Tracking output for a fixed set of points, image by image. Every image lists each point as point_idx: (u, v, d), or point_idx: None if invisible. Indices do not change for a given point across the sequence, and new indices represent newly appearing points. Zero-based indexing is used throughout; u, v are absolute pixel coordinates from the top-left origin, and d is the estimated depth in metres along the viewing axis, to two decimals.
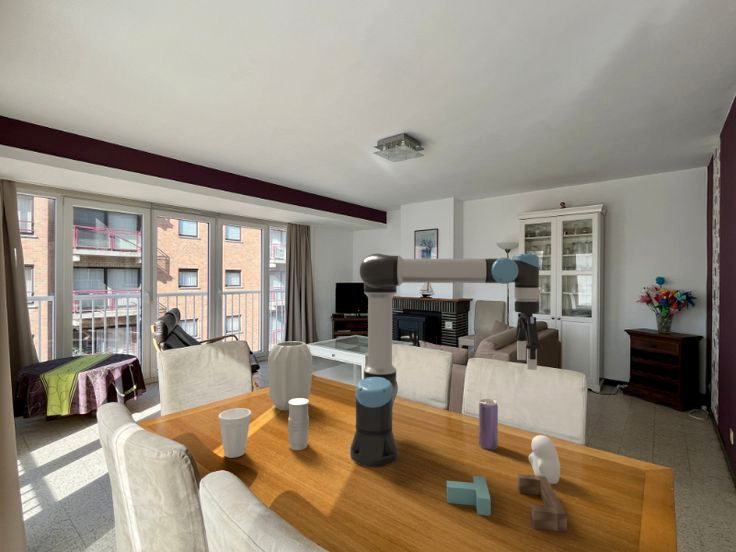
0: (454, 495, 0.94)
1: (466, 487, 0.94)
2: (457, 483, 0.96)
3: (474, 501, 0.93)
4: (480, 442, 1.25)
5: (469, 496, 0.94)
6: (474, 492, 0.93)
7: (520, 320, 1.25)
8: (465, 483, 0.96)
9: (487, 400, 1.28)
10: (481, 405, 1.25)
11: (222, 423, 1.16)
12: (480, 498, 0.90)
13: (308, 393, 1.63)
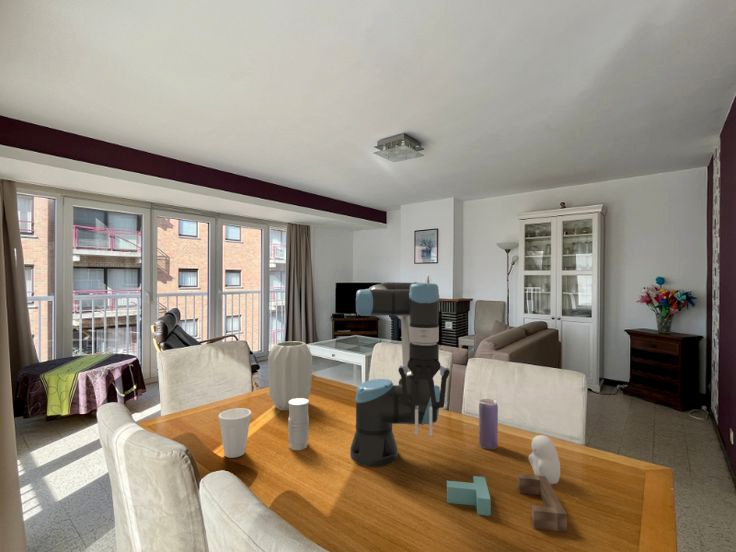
0: (454, 495, 0.94)
1: (466, 487, 0.94)
2: (457, 483, 0.96)
3: (474, 501, 0.93)
4: (480, 442, 1.25)
5: (469, 496, 0.94)
6: (474, 492, 0.93)
7: None
8: (465, 483, 0.96)
9: (487, 400, 1.28)
10: (481, 405, 1.25)
11: (222, 423, 1.16)
12: (480, 498, 0.90)
13: (308, 393, 1.63)
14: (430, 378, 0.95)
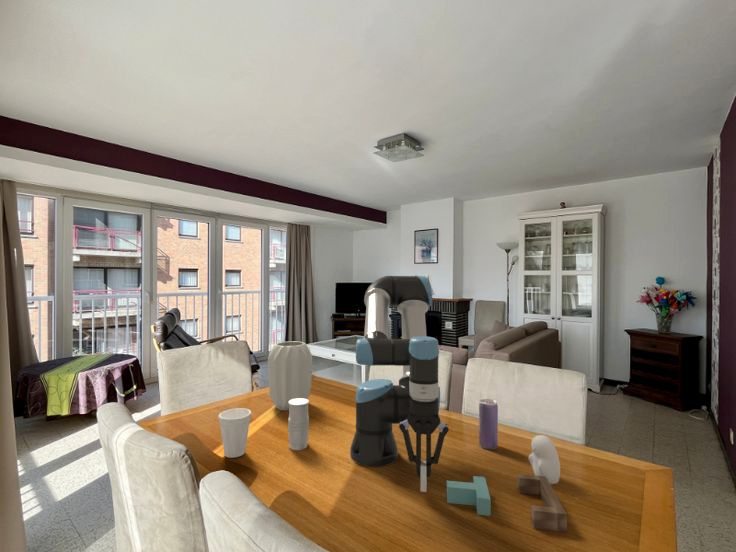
0: (454, 495, 0.94)
1: (466, 487, 0.94)
2: (457, 483, 0.96)
3: (474, 501, 0.93)
4: (480, 442, 1.25)
5: (469, 496, 0.94)
6: (474, 492, 0.93)
7: None
8: (465, 483, 0.96)
9: (487, 400, 1.28)
10: (481, 405, 1.25)
11: (222, 423, 1.16)
12: (480, 498, 0.90)
13: (308, 393, 1.63)
14: (428, 434, 0.95)
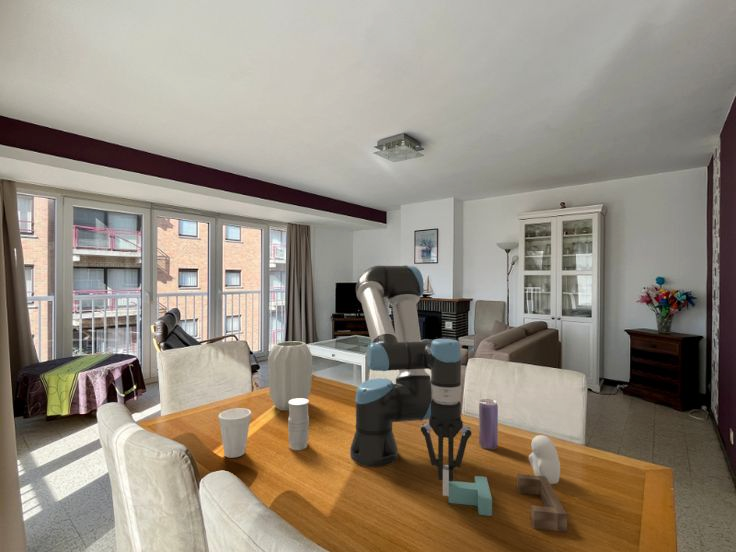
0: (455, 495, 0.94)
1: (467, 487, 0.94)
2: (458, 483, 0.96)
3: (475, 501, 0.93)
4: (480, 442, 1.25)
5: (470, 496, 0.93)
6: (475, 492, 0.93)
7: None
8: (467, 483, 0.96)
9: (487, 400, 1.28)
10: (481, 405, 1.25)
11: (222, 423, 1.16)
12: (482, 498, 0.90)
13: (308, 393, 1.63)
14: (451, 438, 0.94)
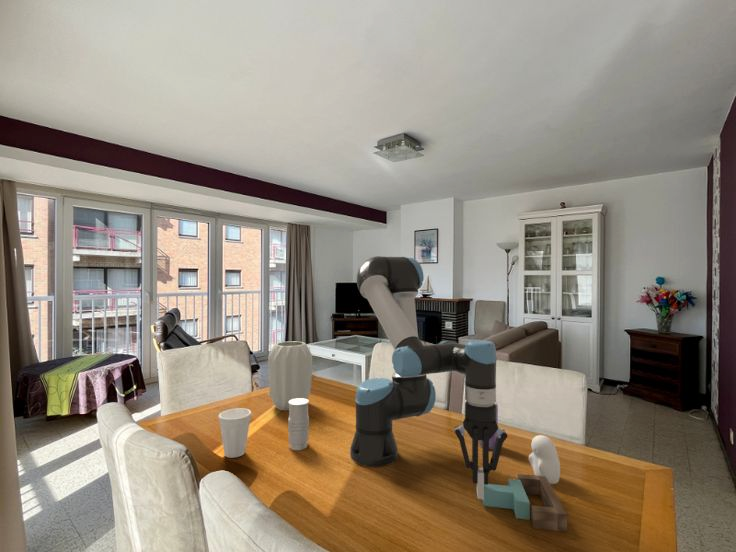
0: (490, 498, 0.93)
1: (503, 490, 0.93)
2: (493, 486, 0.95)
3: (511, 504, 0.92)
4: (480, 442, 1.25)
5: (506, 499, 0.92)
6: (511, 495, 0.92)
7: None
8: (501, 486, 0.95)
9: None
10: None
11: (222, 423, 1.16)
12: (519, 501, 0.88)
13: (308, 393, 1.63)
14: (486, 440, 0.93)
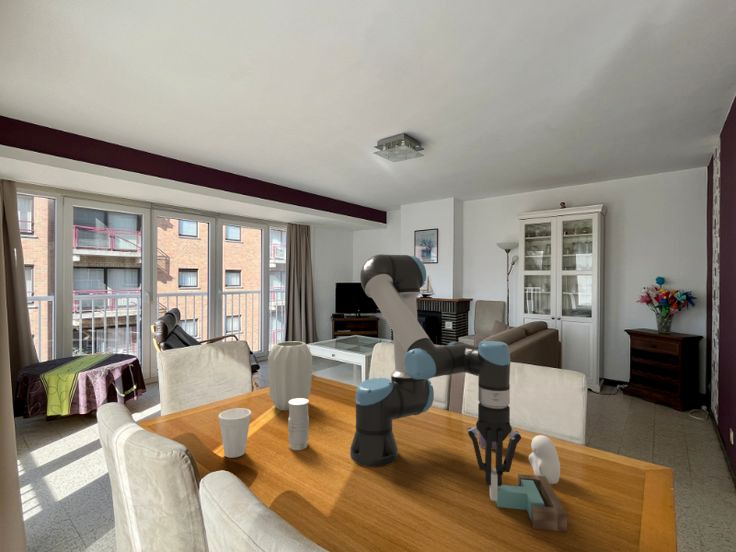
0: (504, 499, 0.93)
1: (516, 491, 0.93)
2: (506, 487, 0.94)
3: (525, 505, 0.92)
4: (480, 442, 1.25)
5: (520, 500, 0.92)
6: (525, 496, 0.92)
7: None
8: (515, 487, 0.94)
9: None
10: None
11: (222, 423, 1.16)
12: (533, 502, 0.88)
13: (308, 393, 1.63)
14: (500, 442, 0.92)
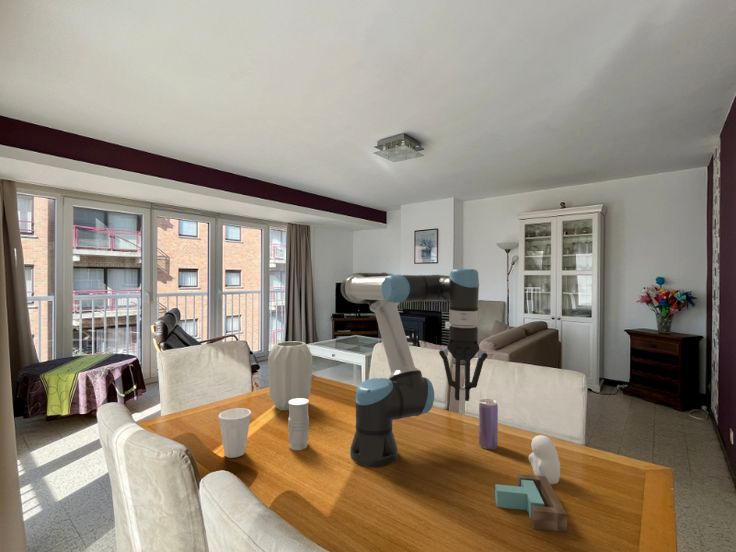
0: (504, 499, 0.93)
1: (516, 491, 0.93)
2: (506, 487, 0.94)
3: (525, 505, 0.92)
4: (480, 442, 1.25)
5: (520, 500, 0.92)
6: (525, 496, 0.92)
7: None
8: (515, 487, 0.94)
9: (487, 400, 1.28)
10: (481, 405, 1.25)
11: (222, 423, 1.16)
12: (534, 502, 0.88)
13: (308, 393, 1.63)
14: (468, 360, 1.00)
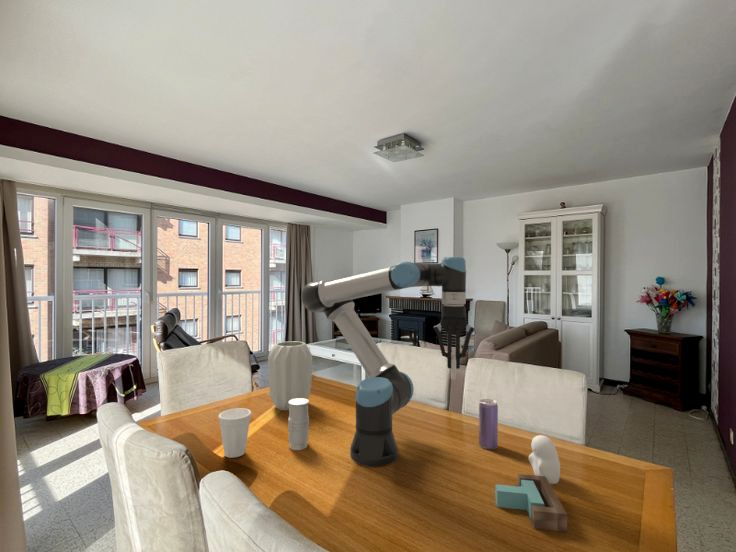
0: (504, 499, 0.93)
1: (516, 491, 0.93)
2: (506, 487, 0.94)
3: (525, 505, 0.92)
4: (480, 442, 1.25)
5: (520, 500, 0.92)
6: (525, 496, 0.92)
7: None
8: (515, 487, 0.94)
9: (487, 400, 1.28)
10: (481, 405, 1.25)
11: (222, 423, 1.16)
12: (534, 502, 0.88)
13: (308, 393, 1.63)
14: (458, 333, 1.18)
